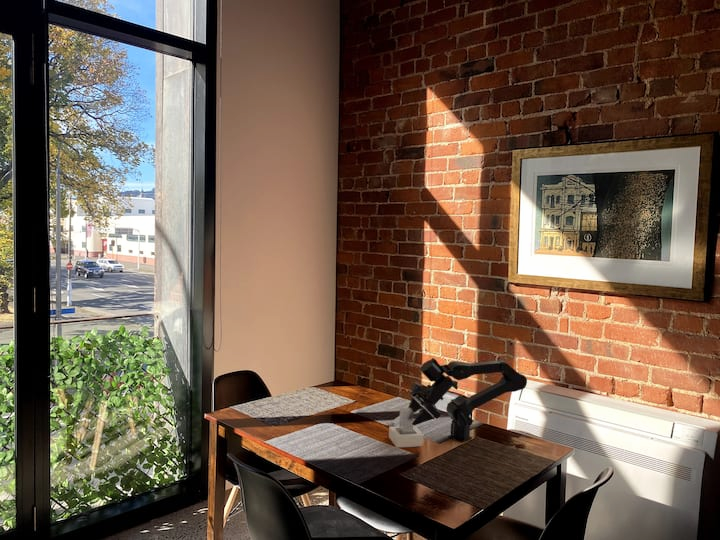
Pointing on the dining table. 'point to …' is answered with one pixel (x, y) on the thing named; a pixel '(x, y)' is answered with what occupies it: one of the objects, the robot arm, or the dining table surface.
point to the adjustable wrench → (398, 420)
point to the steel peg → (406, 421)
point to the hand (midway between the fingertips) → (408, 420)
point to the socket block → (406, 437)
